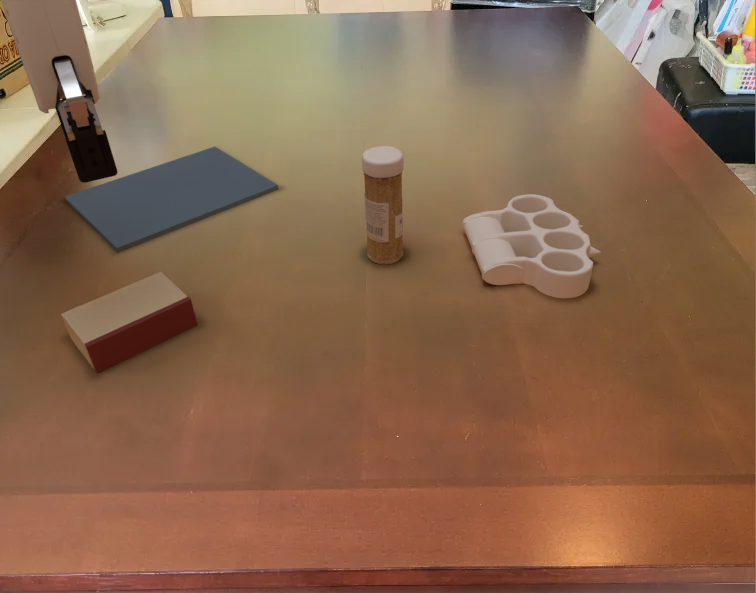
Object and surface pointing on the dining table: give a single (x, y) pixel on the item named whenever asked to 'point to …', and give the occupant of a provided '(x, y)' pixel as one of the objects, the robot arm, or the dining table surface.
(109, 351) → the book
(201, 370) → the dining table surface
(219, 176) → the mat
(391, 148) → the sprinkles bottle
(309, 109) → the dining table surface
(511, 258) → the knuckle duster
